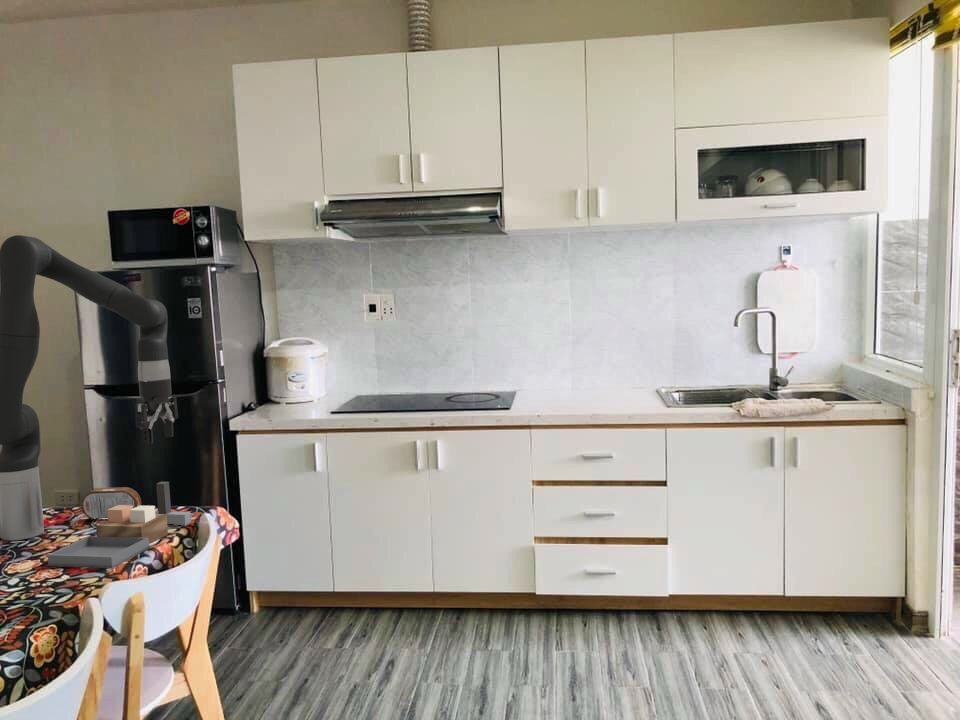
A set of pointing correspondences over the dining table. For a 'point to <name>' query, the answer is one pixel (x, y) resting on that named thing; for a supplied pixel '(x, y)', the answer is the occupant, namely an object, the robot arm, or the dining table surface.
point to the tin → (108, 500)
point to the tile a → (119, 513)
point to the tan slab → (135, 528)
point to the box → (98, 552)
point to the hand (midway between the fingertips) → (159, 440)
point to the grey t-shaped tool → (169, 506)
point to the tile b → (142, 514)
